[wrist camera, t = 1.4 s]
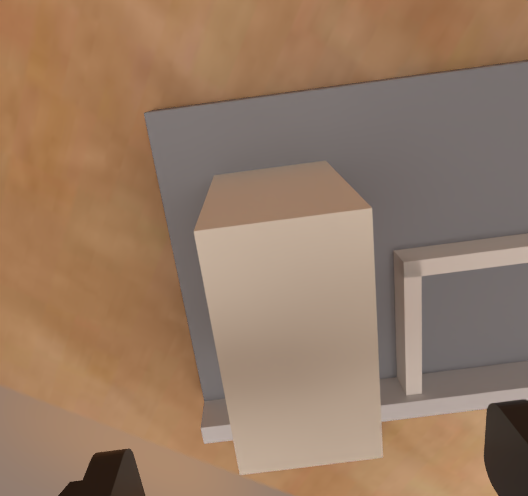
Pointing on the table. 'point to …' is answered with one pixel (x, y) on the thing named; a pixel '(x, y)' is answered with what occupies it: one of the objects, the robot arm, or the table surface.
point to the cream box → (293, 315)
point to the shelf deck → (386, 220)
